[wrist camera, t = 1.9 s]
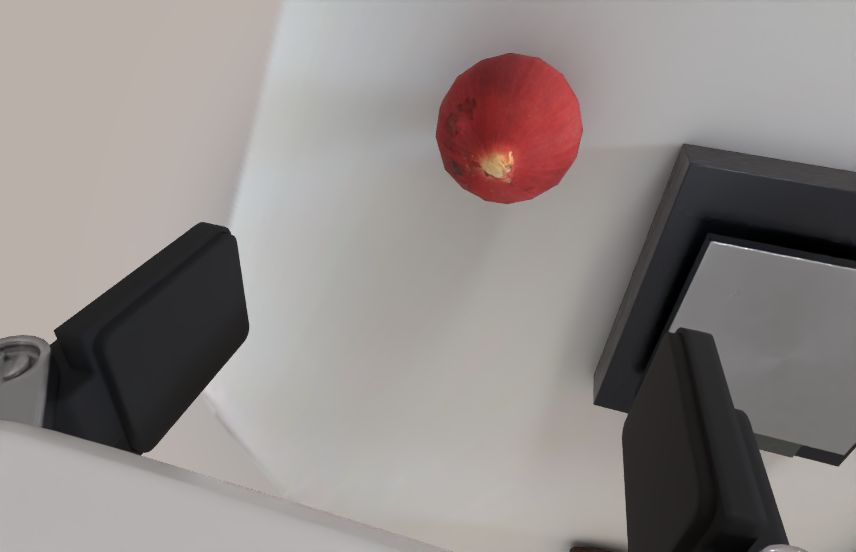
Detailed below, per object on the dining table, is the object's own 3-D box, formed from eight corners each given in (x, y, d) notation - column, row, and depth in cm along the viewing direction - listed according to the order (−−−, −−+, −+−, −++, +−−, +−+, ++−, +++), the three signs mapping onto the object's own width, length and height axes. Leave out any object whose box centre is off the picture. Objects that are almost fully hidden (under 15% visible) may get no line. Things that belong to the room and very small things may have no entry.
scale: (682, 143, 23) (691, 166, 21) (1017, 198, 21) (1066, 231, 19) (593, 375, 32) (593, 410, 30) (823, 432, 30) (841, 473, 28)
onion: (474, 173, 27) (435, 253, 20) (443, 57, 24) (386, 108, 18) (592, 151, 25) (589, 233, 18) (572, 20, 22) (561, 64, 15)
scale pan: (707, 232, 22) (711, 241, 21) (977, 283, 20) (989, 295, 20) (633, 392, 28) (634, 403, 27) (838, 442, 26) (844, 455, 26)
